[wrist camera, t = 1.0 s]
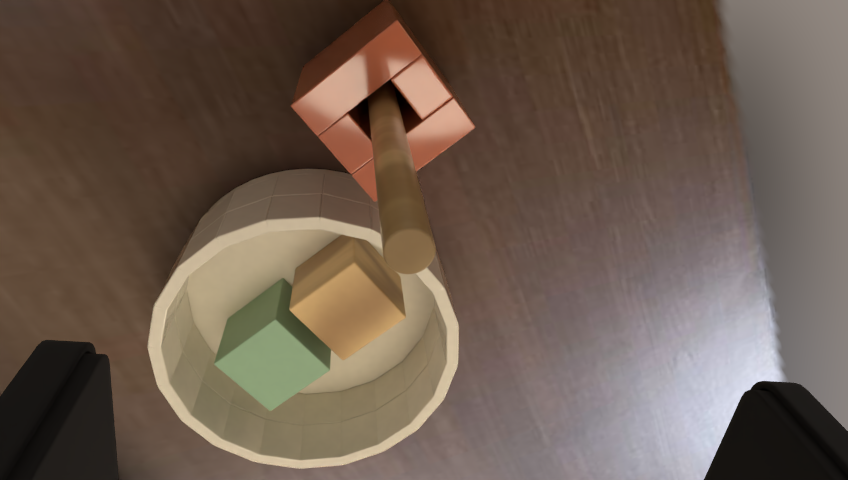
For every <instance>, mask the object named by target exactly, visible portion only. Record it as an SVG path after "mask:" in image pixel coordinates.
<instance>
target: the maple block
mask: <svg viewBox="0 0 848 480" xmlns="http://www.w3.org/2000/svg"><path fill="white" fill-rule="evenodd" d="M289 310H290V311H291V312H292V313H293V314H294V315H295V316H296V317H297V318H298V319H299V320H300V321H301V322H302V323H304V324H305V325H306V326H307V327H308V328H309V329H310V330H311V331H312V332H313V333H314V334H315V335H316V336H317V337H318V338H319V339H320V340H322V341H323V342H324V343H325V344H326V345H327V346H328V347H329V348H330V349H331V350H332V351H333V352H334V353H335V354H336V355H337V356H338V357H339V358H341V359H342V360H345V359H347V358H348V357H350V356H351V355H353V354H354V353H355V352H357V351H358V350H360V349H361V348H363V347H364V346H366V345H367V344H368V343H370V342H371V341H373V340H374V339H376V338H377V337H379V336H380V335H382V334H383V333H384V332H386V331H387V330H389V329H390V328H392V327H393V326H395V325H396V324H398V323H399V322H400V321H402V320H403V319H405V318H406V313H405V306H404V298H403V291H402V284H401V277H400V276H399V275H398V273H397V272H396V271H394V270H393V269H391V268H390V267H389V266H388V265H387V264H386V262H385V260H384V258H383V257H382V256H381V255H380V254H379V253H378V252H377V250H376V249H375V248H374V247H373V246H372V245H371V244H370V243H369V242H368V241H367V240H364V239H359V238H355V237H351V236H346V235H340V236H339V237H338V238H336V239H335V240H334V241H332V242H331V243H330V244H328V245H327V246H326V247H324V248H323V249H322V250H320V251H319V252H317V253H316V254H315V255H313V256H312V257H311V258H309V259H308V260H307V261H305V262H304V263H303V264H301V265H300V266H298V267H297V268H296V269H295V274H294V281H293V287H292V294H291V300H290V307H289Z"/></svg>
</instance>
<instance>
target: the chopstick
mask: <svg viewBox="0 0 848 480" xmlns="http://www.w3.org/2000/svg"><path fill="white" fill-rule="evenodd" d="M367 98H368V108H369V118H370V128H371V138H372V149H373V159H374V169H375V179H376V189H377V200H378V210H379V220H380V230H381V240H382V250H383V257H384V260H385V262H386V264H387V265H388V266H389V267H390V268H391V269H393V270H394V271H396V272H398V273H401V274H415V273H418V272H421V271H423V270H424V269H426V268H427V267H428V266H429V265H430V264H431V262H432V261H433V259H434V256H435V252H436V247H435V242H434V239H433V235H432V231H431V227H430V223H429V219H428V216H427V212H426V208H425V204H424V200H423V196H422V193H421V189H420V185H419V181H418V177H417V173H416V170H415V166H414V162H413V158H412V154H411V150H410V147H409V143H408V139H407V135H406V131H405V127H404V124H403V120H402V116H401V112H400V108H399V104H398V101H397V97H396V93H395V89H394V85H393V83H392V81H391V79H390V80H388V81H387V82H386V83H385V84H383V85H382V86H381V87H380V88H378V89H377V90H376V91H374V92H373V93H372V94H371V95H369V96H368V97H367Z"/></svg>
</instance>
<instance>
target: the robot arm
mask: <svg viewBox="0 0 848 480" xmlns="http://www.w3.org/2000/svg"><path fill="white" fill-rule="evenodd" d="M0 480H119V478H118V465H117V453H116V440H115V427H114V414H113V401H112V388H111V376H110V364H109V358H108V356H107V355H105V354H96V352H95V348H94V346H93V344H92V343H90V342H73V341H55V340H45V341H42V342H41V343H40V344H39V345H38V346H37V347H36V349H35V350H34V351H33V353H32V354H31V355H30V357H29V358H28V359H27V361H26V362H25V363H24V365H23V366H22V368H21V369H20V370H19V372H18V373H17V374H16V376H15V377H14V378H13V380H12V381H11V382H10V384H9V385H8V387H7V388H6V389H5V391H4V392H3V393H2V395H1V396H0ZM704 480H848V431H847V430H846V429H845V428H844V427H843V426H842V425H841V424H840V423H839V422H838V421H837V420H836V419H835V418H834V417H833V416H832V415H831V414H830V413H829V412H828V411H827V410H826V409H825V408H824V407H823V406H822V405H821V404H820V403H819V402H818V401H817V400H816V399H815V398H814V396H812V394H811V393H810V392H809V391H808V390H806V389H805V388H804V387H802V386H801V385H800V384H796V383H787V382H770V381H762V382H758V383H756V384H755V385H753V387H752V388H751V390H748V391H747V392H745V393H744V394H743V396H742V397H741V400H740V402H739V404H738V406H737V408H736V411H735V413H734V415H733V417H732V419H731V422H730V424H729V426H728V428H727V430H726V433H725V435H724V437H723V439H722V441H721V444H720V446H719V448H718V450H717V452H716V455H715V457H714V459H713V461H712V463H711V466H710V468H709V470H708V472H707V474H706V477H705V479H704Z"/></svg>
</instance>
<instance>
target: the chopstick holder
mask: <svg viewBox="0 0 848 480" xmlns="http://www.w3.org/2000/svg"><path fill="white" fill-rule="evenodd" d="M390 79H391V81H392V83H393V84H394V85H395V86H396V88H397V89H396V90H395V93H396V97H397V101H398V104H399V108H400V112H401V116H402V120H403V124H404V127H405V131H406V135H407V139H408V143H409V147H410V150H411V154H412V158H413V162H414V166H415V170H416V171H418V170H419V169H420V168H422V167H423V166H424V165H426V164H427V163H428V162H430V161H431V160H432V159H434V158H435V157H437V156H438V155H439V154H441V153H442V152H443V151H445V150H446V149H447V148H449V147H450V146H451V145H453V144H454V143H455V142H457V141H458V140H459V139H461V138H462V137H464V136H465V135H466V134H468V133H469V132H470V131H472V130H473V129H474V128H475V125H474V123H473V122H472V120H471V118H470V117H469V115H468V113H467V112H466V110H465V108H464V107H463V105H462V103H461V102H460V100H459V98H458V97H457V95H456V93H455V92H454V90H453V88H452V87H451V85H450V84H449V82H448V81H447V79H446V78H445V77H444V75H443V74H442V73H441V71H440V70H439V68H438V67H437V66H436V64H435V63H434V62H433V61H432V59H431V58H430V56H429V55H428V53H427V52H426V51H425V49H424V48H423V47H422V45H421V44H420V42H419V41H418V40H417V38H416V37H415V36H414V34H413V33H412V31H411V30H410V29H409V27H408V26H407V25H406V23H405V22H404V20H403V19H402V18H401V16H400V15H399V14H398V12H397V11H396V9H395V8H394V7H393V5H392V4H391V3H390V1H389V0H384V1H383V2H382V3H380V4H379V5H378V6H377V7H376V8H374V9H373V10H372V11H371V12H369V13H368V14H367V15H366V16H364V17H363V18H362V19H361V20H360V21H358V22H357V23H356V24H355V25H353V26H352V27H351V28H350V29H349V30H347V31H346V32H345V33H344V34H342V35H341V36H340V37H339V38H338V39H336V40H335V41H334V42H333V43H331V44H330V45H329V46H328V47H327V48H325V49H324V50H323V51H322V52H320V53H319V54H318V55H317V56H316V57H314V58H313V59H312V60H311V61H309V62H308V63H307V64H306V65H305V66H303V69H302V72H301V75H300V78H299V82H298V85H297V88H296V91H295V94H294V97H293V101H292V104H291V107H292V108H293V109H294V111H295V112H296V113H297V114H298V115H299V116H300V117H301V119H302V120H303V121H304V122H305V123H306V124H307V125H308V127H309V128H310V129H311V130H312V131H313V132H314V133H315V135H316V136H318V137H319V139H320V140H321V141H322V142H323V143H324V145H325V146H326V147H327V148H328V149H329V150H330V151H331V153H332V154H333V155H334V156H335V157H336V158H337V159H338V161H339V162H340V163H341V164H342V165H343V166H344V167H345V169H346V170H347V171H348V172H349V173H350V174H352V177H353V178H354V179H355V180H356V181H357V182H358V184H359V185H360V186H361V187H362V188H363V189H364V190H365V192H366V193H367V194H368V195H369V196H370V197H371V198H372V200H373V201H374V202H376V201H377V189H376V179H375V169H374V159H373V149H372V138H371V128H370V118H369V108H368V98H367V97H368V96H369V95H371V94H372V93H373V92H374V91H376V90H377V89H378V88H380V87H381V86H382V85H383V84H385V83H386V82H387V81H388V80H390Z"/></svg>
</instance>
